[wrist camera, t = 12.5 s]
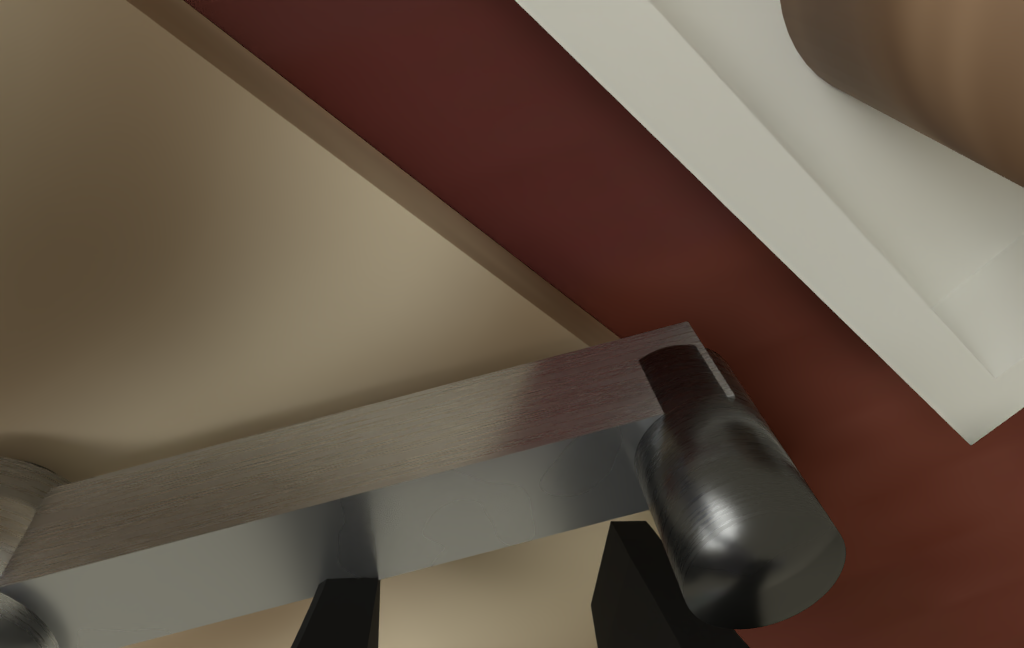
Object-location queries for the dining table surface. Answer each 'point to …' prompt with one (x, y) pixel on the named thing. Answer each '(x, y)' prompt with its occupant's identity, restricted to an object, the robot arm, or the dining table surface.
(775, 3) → the tray
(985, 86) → the cylinder
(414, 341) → the crank board
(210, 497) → the crank lever
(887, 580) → the dining table surface
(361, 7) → the dining table surface
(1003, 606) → the dining table surface
